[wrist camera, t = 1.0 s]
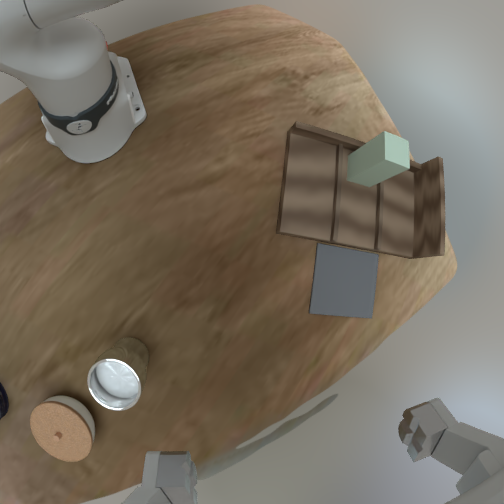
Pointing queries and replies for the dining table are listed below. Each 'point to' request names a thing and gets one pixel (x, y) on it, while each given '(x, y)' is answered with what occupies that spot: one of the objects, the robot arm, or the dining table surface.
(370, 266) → the mat
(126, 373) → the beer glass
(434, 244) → the lane shelf
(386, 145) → the block
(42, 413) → the lidded jar
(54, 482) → the dining table surface
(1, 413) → the storage jar
